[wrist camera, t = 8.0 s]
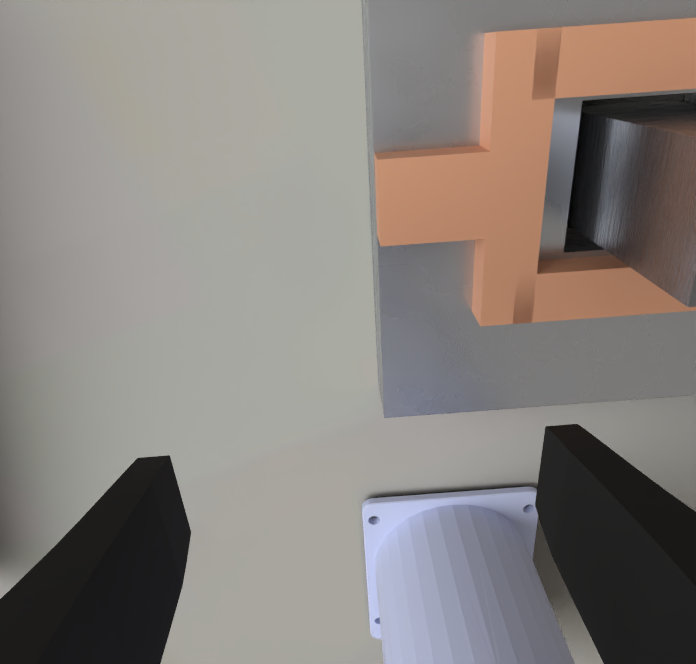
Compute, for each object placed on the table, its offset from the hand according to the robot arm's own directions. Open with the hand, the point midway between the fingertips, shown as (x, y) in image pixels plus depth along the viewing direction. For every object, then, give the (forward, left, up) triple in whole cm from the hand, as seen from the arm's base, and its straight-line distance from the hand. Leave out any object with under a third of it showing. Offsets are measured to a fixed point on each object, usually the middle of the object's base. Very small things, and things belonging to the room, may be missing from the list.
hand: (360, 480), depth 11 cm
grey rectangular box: (+4, -9, -10) cm, 14 cm away
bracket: (+4, -7, -8) cm, 11 cm away
